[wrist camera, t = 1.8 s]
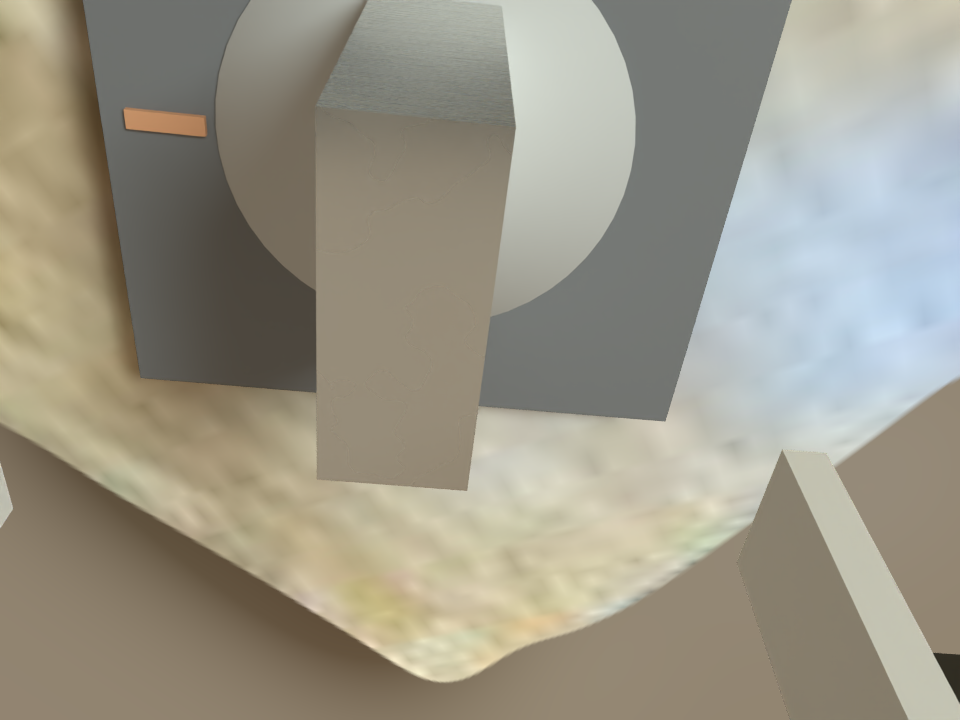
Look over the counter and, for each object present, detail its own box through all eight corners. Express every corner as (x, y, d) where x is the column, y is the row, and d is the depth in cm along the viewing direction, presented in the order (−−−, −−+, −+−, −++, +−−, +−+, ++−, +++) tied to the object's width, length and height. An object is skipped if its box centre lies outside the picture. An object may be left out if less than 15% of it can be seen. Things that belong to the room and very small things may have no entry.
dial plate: (78, -293, 22) (33, -301, 20) (816, -194, 23) (852, -192, 21) (161, 341, 33) (138, 381, 31) (654, 383, 34) (666, 424, 32)
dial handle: (372, -9, 23) (315, 106, 15) (501, 5, 23) (516, 127, 15) (363, 287, 28) (317, 492, 20) (468, 297, 29) (464, 503, 20)
